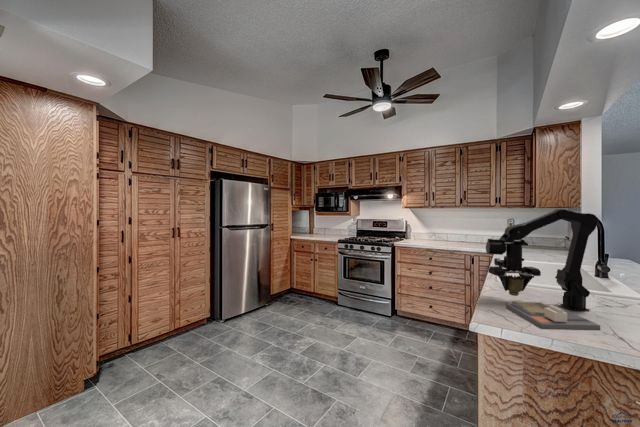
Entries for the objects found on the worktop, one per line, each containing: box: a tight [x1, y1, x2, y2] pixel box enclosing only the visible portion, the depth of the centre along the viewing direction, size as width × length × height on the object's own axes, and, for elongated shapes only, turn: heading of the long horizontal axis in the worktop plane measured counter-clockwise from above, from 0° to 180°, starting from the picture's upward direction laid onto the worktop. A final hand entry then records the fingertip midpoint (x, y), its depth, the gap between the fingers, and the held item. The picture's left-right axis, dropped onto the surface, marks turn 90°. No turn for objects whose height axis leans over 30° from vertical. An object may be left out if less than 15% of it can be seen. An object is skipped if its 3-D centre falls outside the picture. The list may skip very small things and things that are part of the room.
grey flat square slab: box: [505, 303, 601, 331], centre depth 104 cm, size 19×20×2 cm
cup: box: [507, 274, 524, 297], centre depth 119 cm, size 8×7×8 cm
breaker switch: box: [544, 304, 567, 322], centre depth 98 cm, size 4×5×4 cm
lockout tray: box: [510, 301, 549, 316], centre depth 107 cm, size 12×12×1 cm
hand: (513, 290), depth 119 cm, fingers closed on cup, 6 cm apart
